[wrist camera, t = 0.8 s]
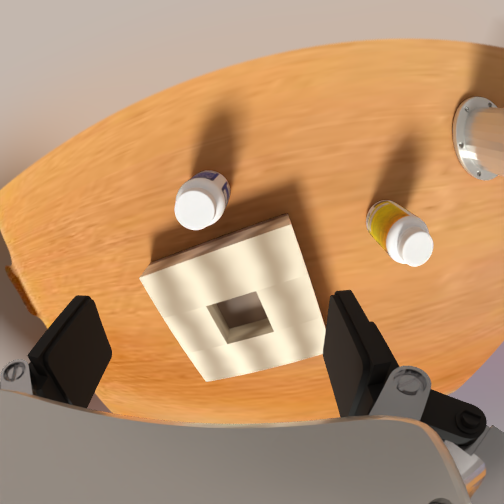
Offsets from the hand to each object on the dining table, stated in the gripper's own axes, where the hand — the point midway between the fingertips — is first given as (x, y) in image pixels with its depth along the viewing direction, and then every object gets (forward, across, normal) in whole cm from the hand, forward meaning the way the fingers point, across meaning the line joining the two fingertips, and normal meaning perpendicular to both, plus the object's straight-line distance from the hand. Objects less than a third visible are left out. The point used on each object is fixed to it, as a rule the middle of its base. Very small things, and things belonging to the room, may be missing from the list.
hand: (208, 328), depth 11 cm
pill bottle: (+27, +3, 0) cm, 27 cm away
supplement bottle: (+26, -19, +4) cm, 33 cm away
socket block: (+27, 0, +16) cm, 31 cm away
